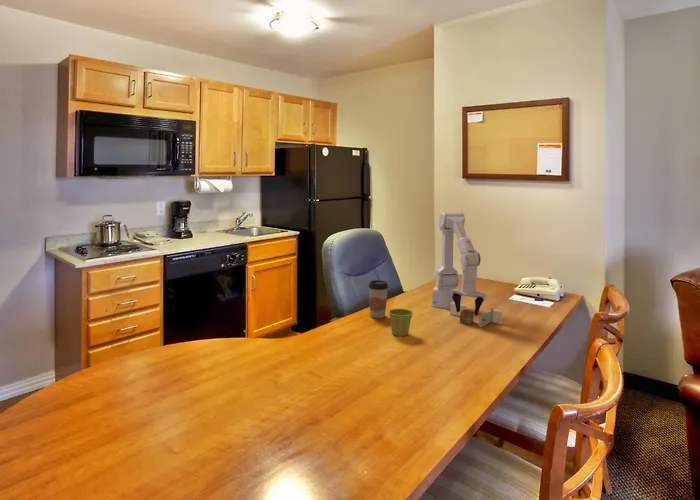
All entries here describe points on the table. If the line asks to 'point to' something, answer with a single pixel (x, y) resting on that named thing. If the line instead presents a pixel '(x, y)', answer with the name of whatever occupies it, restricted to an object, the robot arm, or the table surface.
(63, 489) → the table surface
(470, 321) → the block
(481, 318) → the door
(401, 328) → the plant pot
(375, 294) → the coffee cup
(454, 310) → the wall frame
